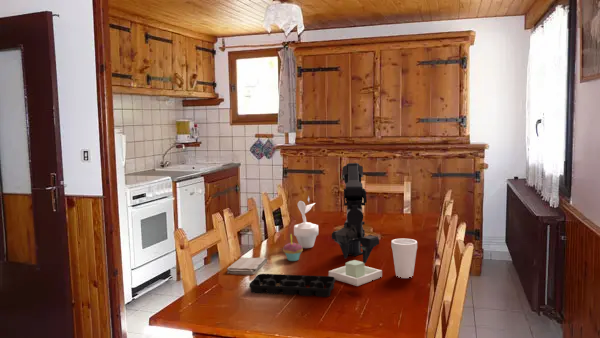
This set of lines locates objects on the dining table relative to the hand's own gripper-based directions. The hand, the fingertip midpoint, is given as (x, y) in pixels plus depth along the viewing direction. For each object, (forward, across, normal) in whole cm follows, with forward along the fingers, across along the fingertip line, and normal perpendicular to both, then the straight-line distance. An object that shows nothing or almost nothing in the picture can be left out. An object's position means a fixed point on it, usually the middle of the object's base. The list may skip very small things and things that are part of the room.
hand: (355, 260), depth 186 cm
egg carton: (+7, -7, -25) cm, 27 cm away
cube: (+6, 0, 0) cm, 6 cm away
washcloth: (+7, -40, -20) cm, 45 cm away
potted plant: (+7, -46, +19) cm, 50 cm away
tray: (+6, 0, 0) cm, 6 cm away
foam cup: (+7, +12, +14) cm, 20 cm away
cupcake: (+7, -35, 0) cm, 36 cm away
